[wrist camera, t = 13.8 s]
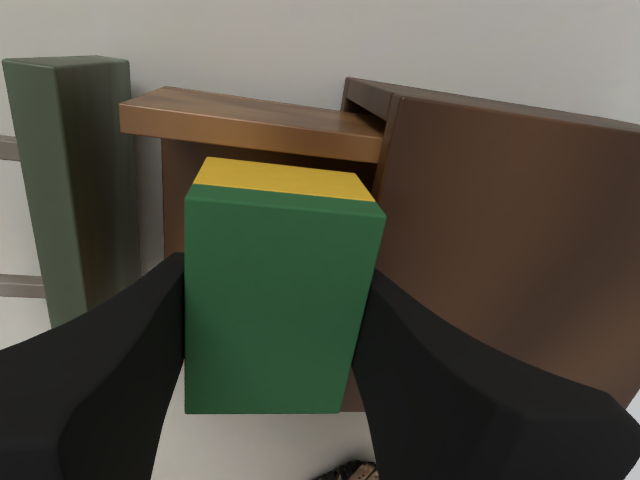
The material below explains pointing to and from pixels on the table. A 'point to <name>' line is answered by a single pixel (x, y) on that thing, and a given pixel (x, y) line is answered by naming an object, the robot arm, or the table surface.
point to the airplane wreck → (353, 472)
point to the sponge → (274, 286)
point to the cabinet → (512, 227)
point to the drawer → (119, 164)
